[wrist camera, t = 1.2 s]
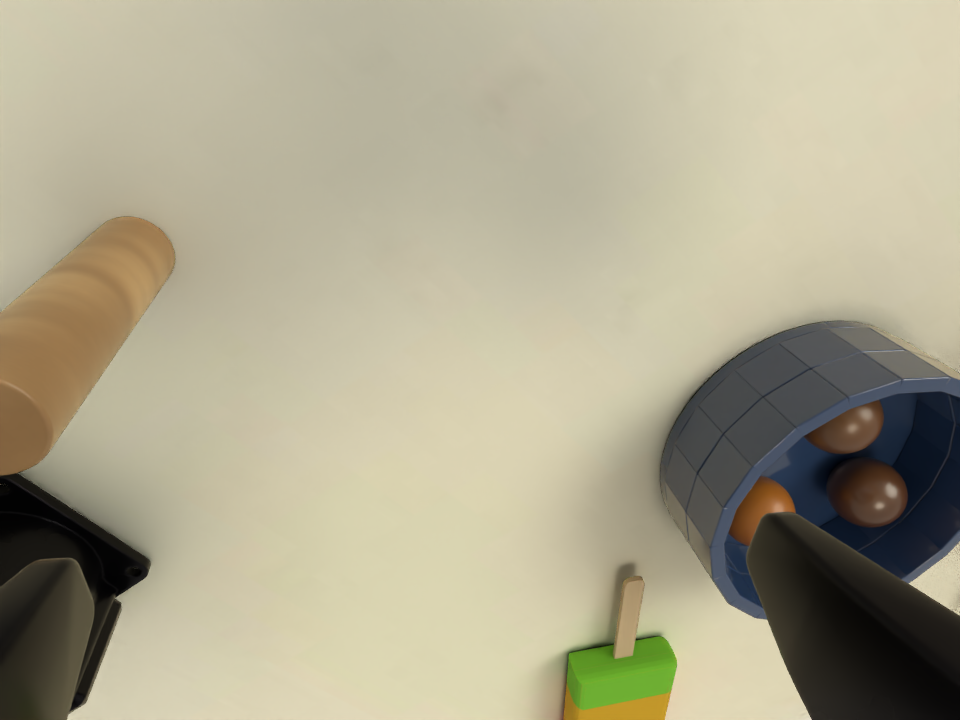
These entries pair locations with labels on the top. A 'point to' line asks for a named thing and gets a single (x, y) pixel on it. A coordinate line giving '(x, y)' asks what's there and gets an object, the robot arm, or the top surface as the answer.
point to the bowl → (803, 467)
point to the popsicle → (622, 671)
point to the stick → (73, 332)
